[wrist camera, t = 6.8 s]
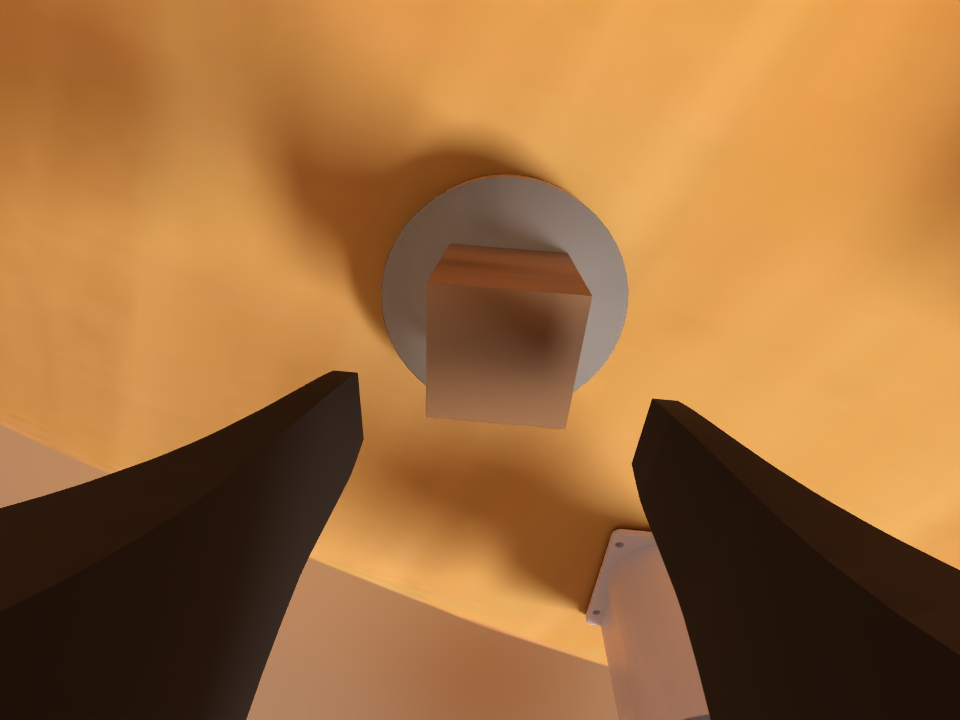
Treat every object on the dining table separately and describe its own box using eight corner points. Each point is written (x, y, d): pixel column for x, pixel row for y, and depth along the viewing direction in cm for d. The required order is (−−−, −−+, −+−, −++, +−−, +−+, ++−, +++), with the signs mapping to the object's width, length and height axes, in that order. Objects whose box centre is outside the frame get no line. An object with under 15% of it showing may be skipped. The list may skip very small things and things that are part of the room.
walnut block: (550, 357, 17) (564, 429, 13) (446, 348, 18) (426, 417, 13) (567, 253, 15) (592, 295, 11) (449, 243, 15) (426, 282, 11)
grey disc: (591, 397, 21) (599, 420, 19) (396, 380, 21) (386, 402, 19) (641, 183, 16) (658, 188, 14) (388, 164, 16) (374, 167, 14)
